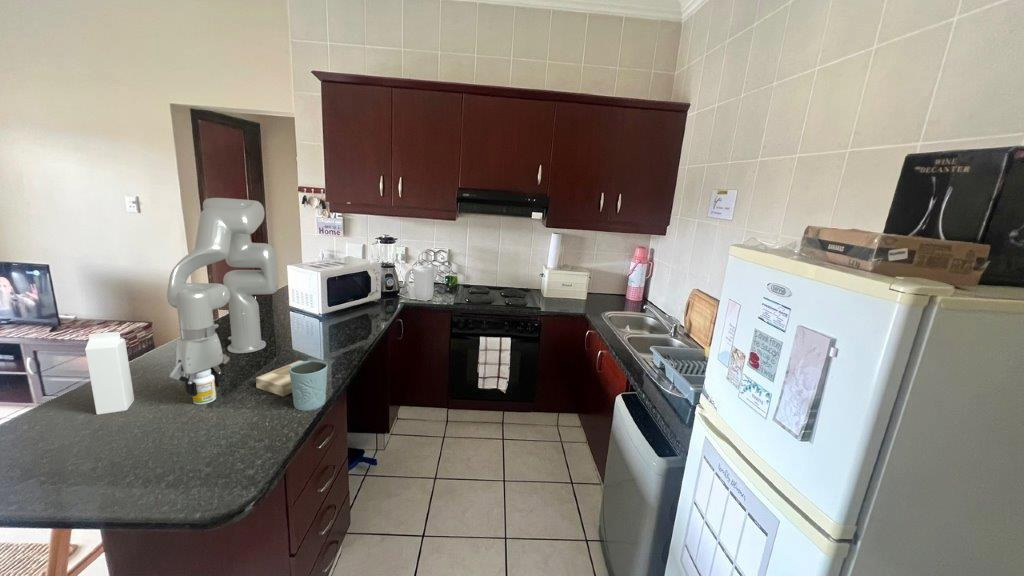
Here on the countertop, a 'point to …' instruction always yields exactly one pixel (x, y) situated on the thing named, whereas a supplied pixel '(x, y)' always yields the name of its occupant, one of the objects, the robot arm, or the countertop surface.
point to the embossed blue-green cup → (308, 384)
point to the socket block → (276, 380)
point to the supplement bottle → (204, 387)
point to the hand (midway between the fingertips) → (204, 389)
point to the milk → (109, 372)
